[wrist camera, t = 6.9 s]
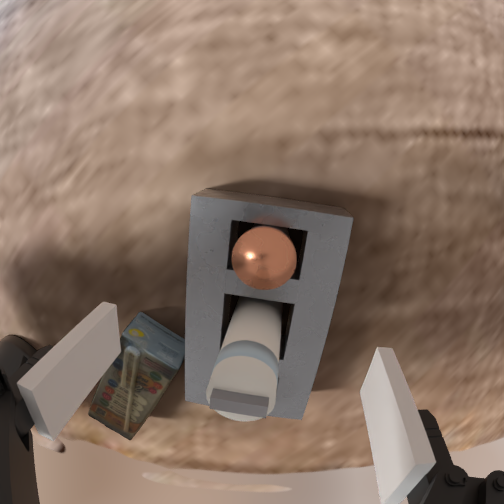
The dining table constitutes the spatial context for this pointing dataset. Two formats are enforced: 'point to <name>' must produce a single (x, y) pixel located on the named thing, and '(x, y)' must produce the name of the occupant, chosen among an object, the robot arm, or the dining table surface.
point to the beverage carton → (137, 375)
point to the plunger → (264, 257)
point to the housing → (293, 291)
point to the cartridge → (248, 362)
